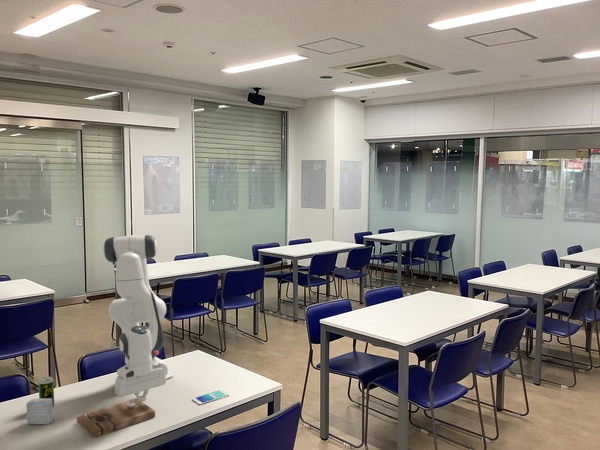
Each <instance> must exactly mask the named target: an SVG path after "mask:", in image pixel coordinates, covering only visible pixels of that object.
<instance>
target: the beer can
mask: <svg viewBox="0 0 600 450" xmlns="http://www.w3.org/2000/svg"><path fill="white" fill-rule="evenodd" d="M54 384H55V383H54V378H53V376H44V377H41V378H40V379H38V397H39V398H38V399H42V398H52V405H53V406H54V407H55V386H54Z"/></svg>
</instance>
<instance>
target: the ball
mask: <svg viewBox="0 0 600 450" xmlns="http://www.w3.org/2000/svg"><path fill="white" fill-rule="evenodd" d="M134 407H135V402H134V401H129V402H128V403H127V408H128V409H133V408H134Z"/></svg>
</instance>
